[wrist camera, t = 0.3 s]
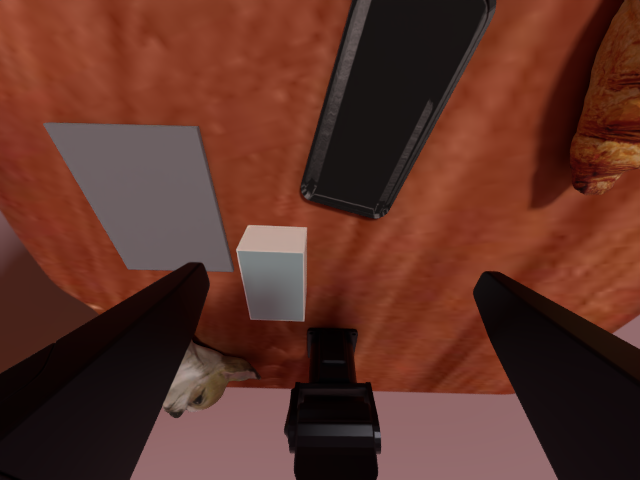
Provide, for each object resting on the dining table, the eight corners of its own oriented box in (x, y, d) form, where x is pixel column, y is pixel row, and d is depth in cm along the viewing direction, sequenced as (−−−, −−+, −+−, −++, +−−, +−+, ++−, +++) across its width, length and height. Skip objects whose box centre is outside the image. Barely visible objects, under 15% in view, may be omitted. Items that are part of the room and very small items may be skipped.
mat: (234, 269, 26) (232, 271, 25) (130, 266, 26) (128, 269, 25) (198, 126, 18) (196, 127, 17) (48, 122, 18) (42, 123, 17)
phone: (297, 196, 20) (373, -74, 12) (298, 191, 21) (369, -64, 13) (384, 221, 21) (508, -7, 13) (381, 215, 22) (496, -2, 14)
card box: (306, 292, 28) (304, 321, 25) (258, 290, 28) (250, 319, 25) (307, 226, 23) (304, 252, 20) (248, 223, 23) (236, 249, 20)
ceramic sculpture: (147, 387, 23) (257, 426, 31) (185, 309, 30) (267, 357, 37) (89, 410, 26) (200, 439, 34) (135, 335, 33) (219, 374, 41)
